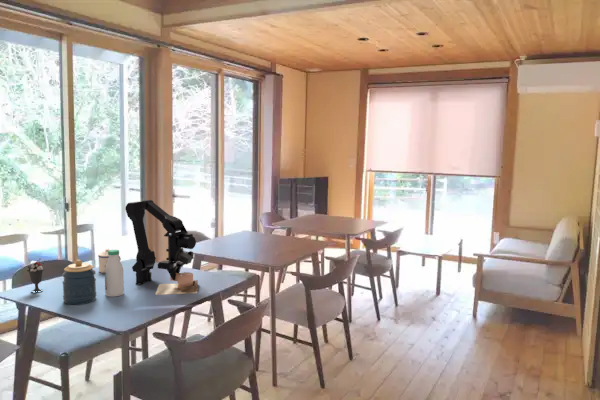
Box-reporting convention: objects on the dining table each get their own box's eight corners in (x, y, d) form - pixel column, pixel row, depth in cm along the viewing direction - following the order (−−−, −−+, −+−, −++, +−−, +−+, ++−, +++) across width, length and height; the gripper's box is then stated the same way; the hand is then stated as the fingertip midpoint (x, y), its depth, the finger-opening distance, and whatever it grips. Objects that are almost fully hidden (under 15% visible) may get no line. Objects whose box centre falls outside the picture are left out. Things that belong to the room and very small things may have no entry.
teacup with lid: (105, 274, 245) (104, 252, 244) (95, 271, 250) (94, 249, 249) (125, 269, 255) (125, 248, 254) (115, 266, 260) (114, 245, 259)
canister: (75, 307, 196) (73, 265, 194) (56, 301, 203) (55, 260, 201) (103, 298, 207) (101, 259, 205) (84, 293, 214) (83, 254, 212)
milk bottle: (127, 292, 216) (126, 249, 213) (116, 298, 209) (114, 253, 206) (113, 290, 218) (112, 247, 216) (101, 295, 211) (100, 251, 209)
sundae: (48, 290, 218) (47, 258, 216) (35, 294, 211) (33, 261, 210) (38, 288, 220) (37, 256, 218) (25, 292, 214) (23, 259, 212)
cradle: (155, 296, 211) (155, 290, 211) (159, 286, 226) (158, 280, 226) (196, 295, 214) (196, 288, 214) (197, 284, 230) (197, 278, 229)
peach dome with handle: (196, 286, 223) (196, 273, 222) (187, 291, 216) (187, 277, 216) (175, 284, 227) (175, 270, 226) (167, 288, 220) (166, 274, 219)
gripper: (178, 252, 209) (178, 287, 211) (200, 244, 227) (200, 276, 228) (156, 250, 213) (157, 284, 214) (180, 242, 230) (180, 273, 232)
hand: (175, 279), depth 222 cm, fingers closed on peach dome with handle
